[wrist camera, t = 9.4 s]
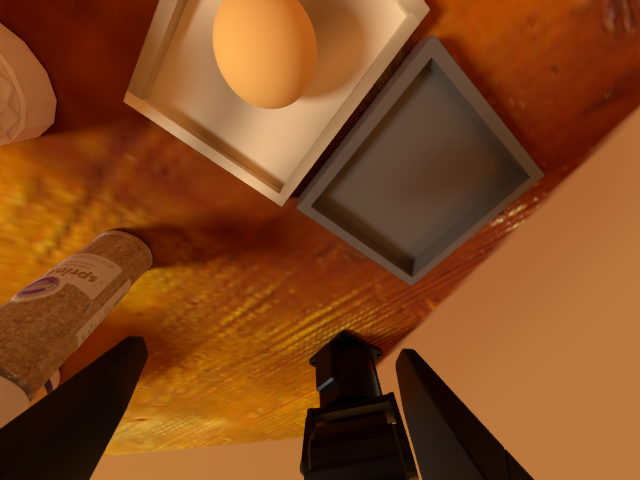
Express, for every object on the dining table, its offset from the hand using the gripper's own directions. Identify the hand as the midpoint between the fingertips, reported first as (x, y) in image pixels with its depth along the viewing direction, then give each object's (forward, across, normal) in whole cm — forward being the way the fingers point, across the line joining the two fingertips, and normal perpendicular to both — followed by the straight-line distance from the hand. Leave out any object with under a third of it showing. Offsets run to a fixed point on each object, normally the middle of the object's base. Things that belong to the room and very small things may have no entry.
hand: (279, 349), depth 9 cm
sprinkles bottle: (+13, +14, +6) cm, 20 cm away
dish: (+13, -9, -3) cm, 16 cm away
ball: (+12, +2, -9) cm, 16 cm away
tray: (+13, +2, -9) cm, 16 cm away
